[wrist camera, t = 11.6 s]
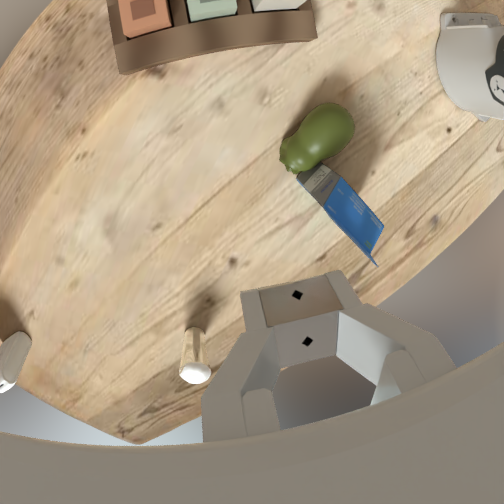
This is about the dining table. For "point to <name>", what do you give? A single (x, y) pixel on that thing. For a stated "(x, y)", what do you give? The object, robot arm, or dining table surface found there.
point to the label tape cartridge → (343, 206)
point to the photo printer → (13, 358)
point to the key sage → (211, 9)
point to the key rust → (144, 17)
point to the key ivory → (276, 4)
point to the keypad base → (208, 34)
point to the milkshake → (194, 357)
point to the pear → (317, 137)
